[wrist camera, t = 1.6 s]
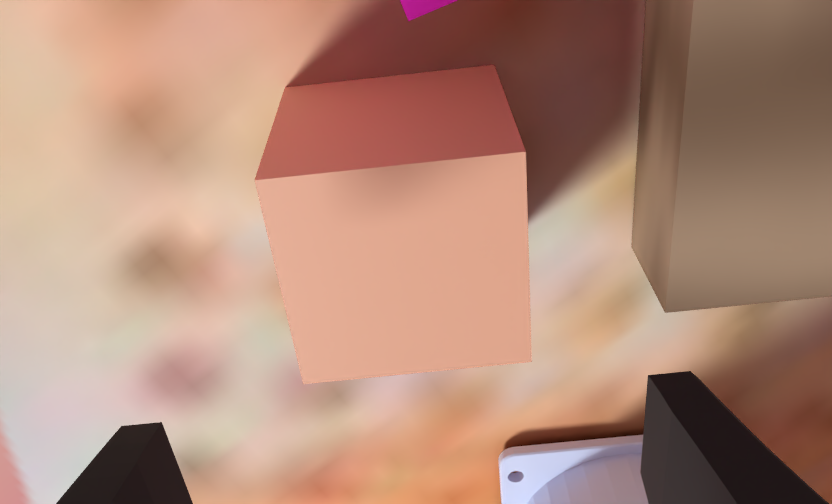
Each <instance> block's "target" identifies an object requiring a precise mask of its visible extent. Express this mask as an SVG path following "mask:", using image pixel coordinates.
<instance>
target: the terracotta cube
mask: <svg viewBox="0 0 832 504" xmlns="http://www.w3.org/2000/svg"><path fill="white" fill-rule="evenodd" d="M255 184H256V188H257V192H258V197H259V201H260V205H261V209H262V213H263V218H264V222H265V226H266V230H267V234H268V239H269V243H270V247H271V251H272V255H273V259H274V264H275V268H276V272H277V276H278V280H279V285H280V289H281V293H282V297H283V301H284V306H285V310H286V314H287V318H288V322H289V326H290V331H291V335H292V339H293V343H294V347H295V352H296V356H297V360H298V364H299V368H300V373H301V377H302V381H303V384H310V383H320V382H330V381H340V380H350V379H361V378H371V377H381V376H391V375H401V374H412V373H422V372H432V371H442V370H452V369H463V368H473V367H483V366H493V365H503V364H514V363H524V362H532V360H531V322H530V285H529V248H528V211H527V174H526V151H525V148H524V145H523V142H522V140H521V137H520V134H519V131H518V129H517V126H516V123H515V120H514V118H513V115H512V112H511V109H510V107H509V104H508V101H507V98H506V96H505V93H504V90H503V87H502V85H501V82H500V79H499V76H498V74H497V71H496V68H495V66H494V65H486V66H477V67H468V68H458V69H449V70H440V71H431V72H422V73H412V74H403V75H394V76H385V77H376V78H366V79H357V80H348V81H339V82H330V83H320V84H311V85H302V86H293V87H285V89H284V92H283V95H282V98H281V101H280V105H279V108H278V111H277V114H276V117H275V120H274V123H273V126H272V129H271V132H270V135H269V138H268V141H267V144H266V147H265V150H264V153H263V156H262V159H261V162H260V165H259V168H258V171H257V175H256V178H255Z"/></svg>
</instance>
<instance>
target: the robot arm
mask: <svg viewBox="0 0 832 504" xmlns="http://www.w3.org/2000/svg"><path fill="white" fill-rule="evenodd" d="M498 460H499V476H500V492H501V504H829V503H828V502H826V501H825V500H824V499H823V498H822V497H821V496H820V495H818V494H817V493H816V492H815V491H814V490H813V489H812V488H811V487H809V486H808V485H807V484H806V483H805V482H804V481H803V480H802V479H801V478H800V477H799V476H797V475H796V474H795V473H794V472H793V471H792V470H791V469H790V468H789V467H788V466H787V465H786V464H784V463H783V462H782V461H781V460H780V459H779V458H778V457H777V456H776V455H775V454H774V453H773V452H772V451H771V450H769V449H768V448H767V447H766V446H765V445H764V444H763V443H762V442H761V441H760V440H759V439H758V438H757V437H756V436H755V435H754V434H753V433H752V432H751V431H750V430H749V429H748V428H747V427H746V426H745V425H744V424H743V423H742V422H741V421H740V420H739V419H738V418H737V417H736V416H735V415H734V414H733V413H732V412H731V411H730V410H729V409H728V408H727V407H726V406H725V405H724V404H723V403H722V402H721V401H720V400H719V399H718V398H717V397H716V396H715V395H714V394H713V393H712V392H711V391H710V390H709V389H708V388H707V387H706V386H705V385H704V384H703V383H702V382H701V380H700V379H699V378H698V377H697V376H695V375H694V374H693V373H692V372H691V371H688V372H677V373H667V374H657V375H648V383H647V396H646V408H645V420H644V433H643V435H633V436H622V437H612V438H601V439H591V440H580V441H569V442H559V443H548V444H538V445H527V446H517V447H510V448H507V449H505V450H504V451H502V452H501V454H500V455H499V459H498ZM514 471H519V472H516V473H511V472H514ZM56 504H193V503H192V500H191V498H190V495H189V492H188V490H187V487H186V485H185V482H184V479H183V477H182V474H181V471H180V469H179V466H178V464H177V461H176V458H175V456H174V453H173V451H172V448H171V445H170V443H169V440H168V438H167V435H166V432H165V430H164V427H163V425H162V422H160V423H150V424H139V425H129V426H121V427H120V429H119V430H118V431H117V432H116V433H115V434H114V435H113V437H112V438H111V439H110V440H109V441H108V442H107V444H106V445H105V446H104V447H103V448H102V450H101V451H100V452H99V453H98V454H97V455H96V457H95V458H94V459H93V460H92V461H91V463H90V464H89V465H88V466H87V467H86V469H85V470H84V471H83V472H82V473H81V475H80V476H79V477H78V478H77V479H76V481H75V482H74V483H73V484H72V485H71V487H70V488H69V489H68V490H67V491H66V492H65V494H64V495H63V496H62V497H61V498H60V500H59V501H58V502H57V503H56Z"/></svg>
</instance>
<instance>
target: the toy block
mask: <svg viewBox="0 0 832 504" xmlns="http://www.w3.org/2000/svg"><path fill="white" fill-rule="evenodd" d="M455 1H457V0H400V2H401V4H402V7H403V9H404V11H405V14H406V16H407V19H408V21H410V20H413V19H415V18H417V17H420V16H422V15H424V14H427V13H429V12H431V11H434V10H436V9H438V8H441V7H443V6H445V5H448V4H450V3H453V2H455Z"/></svg>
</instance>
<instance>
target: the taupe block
mask: <svg viewBox="0 0 832 504" xmlns="http://www.w3.org/2000/svg"><path fill="white" fill-rule="evenodd" d="M632 249H633V251H634V253H635V255H636V257H637V259H638V261H639V263H640V264H641V266H642V268H643V270H644V272H645V274H646V276H647V278H648V280H649V282H650V284H651V286H652V288H653V290H654V292H655V294H656V296H657V298H658V300H659V302H660V303H661V305H662V307H663V309H664V311H665V313H667V312H677V311H688V310H698V309H708V308H718V307H728V306H738V305H748V304H758V303H768V302H779V301H789V300H799V299H809V298H819V297H829V296H832V0H646V7H645V24H644V41H643V58H642V76H641V93H640V110H639V127H638V144H637V162H636V179H635V196H634V213H633V230H632Z"/></svg>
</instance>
